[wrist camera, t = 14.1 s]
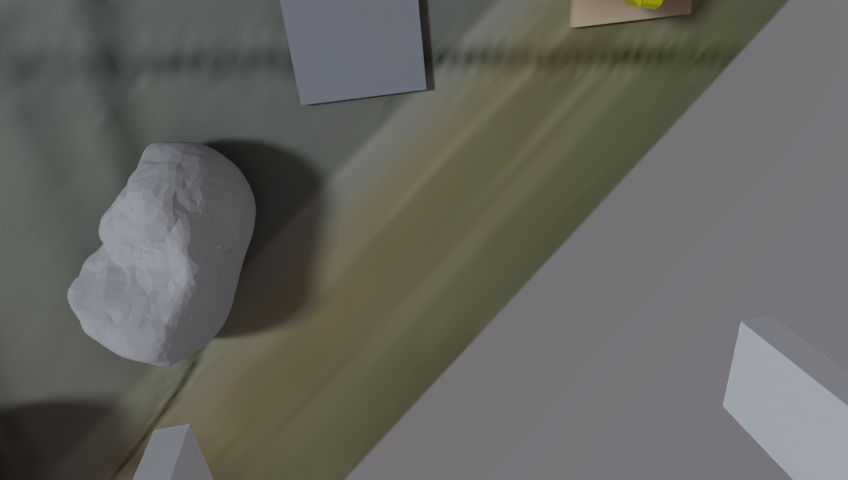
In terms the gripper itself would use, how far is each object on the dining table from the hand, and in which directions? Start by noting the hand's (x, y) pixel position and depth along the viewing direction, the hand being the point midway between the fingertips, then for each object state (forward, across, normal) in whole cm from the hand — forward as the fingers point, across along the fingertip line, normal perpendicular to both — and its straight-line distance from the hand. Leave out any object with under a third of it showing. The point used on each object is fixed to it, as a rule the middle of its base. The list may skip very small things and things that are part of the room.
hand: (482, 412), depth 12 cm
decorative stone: (+29, -17, -6) cm, 34 cm away
